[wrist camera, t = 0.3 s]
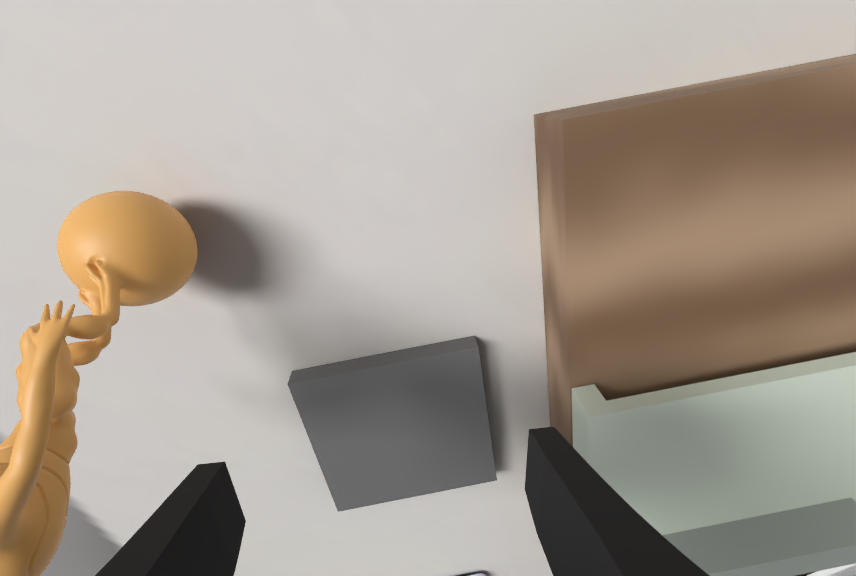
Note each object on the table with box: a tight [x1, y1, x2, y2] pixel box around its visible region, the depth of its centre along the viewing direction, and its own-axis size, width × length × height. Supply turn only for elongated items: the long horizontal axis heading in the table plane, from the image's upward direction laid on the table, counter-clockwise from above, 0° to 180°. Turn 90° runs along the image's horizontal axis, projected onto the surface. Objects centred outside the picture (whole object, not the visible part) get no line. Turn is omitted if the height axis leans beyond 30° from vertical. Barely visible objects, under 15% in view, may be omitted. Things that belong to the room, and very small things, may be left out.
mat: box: [288, 336, 497, 511], centre depth 22 cm, size 9×9×1 cm
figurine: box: [0, 191, 198, 576], centre depth 12 cm, size 8×6×12 cm
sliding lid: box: [572, 352, 856, 576], centre depth 19 cm, size 10×16×4 cm, turn 100°
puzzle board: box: [534, 54, 856, 446], centre depth 21 cm, size 28×16×3 cm, turn 10°
